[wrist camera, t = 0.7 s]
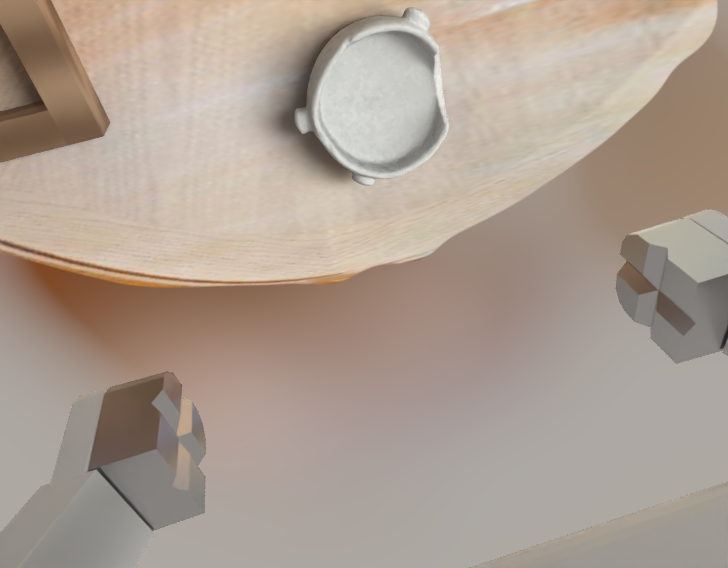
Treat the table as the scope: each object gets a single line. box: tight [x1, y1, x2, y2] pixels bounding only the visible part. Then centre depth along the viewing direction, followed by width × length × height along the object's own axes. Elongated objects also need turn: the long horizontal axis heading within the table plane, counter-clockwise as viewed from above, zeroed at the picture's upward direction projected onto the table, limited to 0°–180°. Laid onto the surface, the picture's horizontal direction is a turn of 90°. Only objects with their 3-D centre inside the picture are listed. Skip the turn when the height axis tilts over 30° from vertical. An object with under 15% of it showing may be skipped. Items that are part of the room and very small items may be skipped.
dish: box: [294, 8, 449, 186], centre depth 49 cm, size 14×14×5 cm
